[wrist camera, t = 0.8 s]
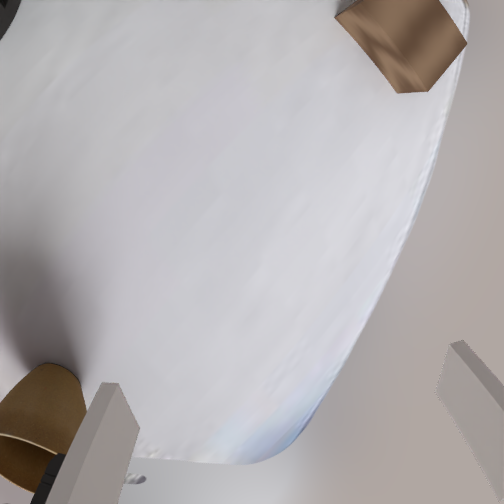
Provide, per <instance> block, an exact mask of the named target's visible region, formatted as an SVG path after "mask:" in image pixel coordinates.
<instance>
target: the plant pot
mask: <svg viewBox="0 0 504 504" xmlns="http://www.w3.org/2000/svg"><path fill="white" fill-rule="evenodd" d="M86 413H87V410H86V405H85V401H84V397H83V393H82V389H81V386H80V383H79V381H78V379H77V378H76V377H75V376H74V375H73V374H72V373H71V372H70V371H69V370H67V369H65V368H64V367H61V366H59V365H56V364H50V363H46V364H42V365H39V366H38V367H37V368H35V369H34V370H33V371H31V372H30V373H29V374H28V375H26V376H25V377H24V378H23V379H22V380H21V381H20V382H19V383H18V384H17V385H16V386H15V387H14V388H13V389H12V390H11V391H10V392H9V393H8V394H7V395H6V397H5V398H4V399H3V400H2V401H1V403H0V475H1V476H2V477H3V478H5V479H6V480H8V481H9V482H11V483H13V484H14V485H16V486H18V487H20V488H22V489H24V490H26V491H28V492H31V493H34V494H35V492H36V489H37V487H38V485H39V483H41V481H40V480H41V478H42V476H43V474H45V473H44V472H45V470H46V468H47V465H48V463H49V461H50V460H51V459H52V458H53V457H54V456H55V455H57V454H58V453H62V454H66V455H67V453H68V450H69V448H70V446H71V444H72V442H73V440H74V438H75V436H76V433H77V431H78V429H79V427H80V425H81V423H82V421H83V419H84V417H85V415H86Z"/></svg>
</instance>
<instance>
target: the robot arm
mask: <svg viewBox="0 0 504 504" xmlns="http://www.w3.org/2000/svg"><path fill="white" fill-rule="evenodd" d="M19 4H20V0H0V40H1V38H2V37H3V35H4V34H5V32H6V31H7V29H8V28H9V26H10V24H11V22H12V20H13V18H14V16H15V14H16V12H17V9H18V7H19ZM435 393H436V395H437V396H438V398H439V400H440V401H441V403H442V404H443V406H444V407H445V409H446V410H447V412H448V414H449V415H450V417H451V419H452V420H453V422H454V423H455V425H456V427H457V428H458V430H459V432H460V433H461V435H462V437H463V438H464V440H465V442H466V443H467V445H468V447H469V449H470V450H471V452H472V454H473V455H474V457H475V459H476V461H477V462H478V464H479V466H480V468H481V470H482V471H483V473H484V475H485V477H486V479H487V481H488V482H489V484H490V486H491V488H492V490H493V492H494V493H495V496H496V498H497V499H498V501H499V503H500V502H501V501H503V500H504V386H503V384H502V383H501V382H500V381H499V380H498V378H497V377H496V376H495V375H494V374H493V373H492V372H491V370H490V369H489V368H488V367H487V366H486V365H485V364H484V362H483V361H482V360H481V359H480V358H479V357H478V356H477V355H476V354H475V352H474V351H473V350H472V349H471V348H470V347H469V346H468V345H467V344H466V343H465V342H464V340H461V341H458V342H454V343H451V344H449V346H448V350H447V354H446V357H445V361H444V365H443V368H442V371H441V375H440V378H439V381H438V385H437V388H436V391H435ZM139 430H140V427H139V425H138V423H137V421H136V419H135V417H134V415H133V413H132V411H131V409H130V407H129V405H128V403H127V401H126V399H125V397H124V394H123V392H122V390H121V388H120V386H119V383H103V382H102V383H101V385H100V387H99V389H98V391H97V393H96V395H95V397H94V399H93V401H92V403H91V405H90V407H89V409H88V411H87V413H86V415H85V417H84V419H83V421H82V423H81V425H80V427H79V429H78V431H77V433H76V436H75V438H74V440H73V442H72V444H71V446H70V448H69V450H68V453H67V455H66V454H62V453H58V454H57V455H55V456H54V457H53V458H52V459H51V460H50V461H49V463H48V465H47V468H46V470H45V472H44V473H45V474H43V476H42V478H41V480H40V481H41V483H39V485H38V487H37V489H36V492H35V494H34V496H33V498H32V501H31V503H30V504H118V500H119V497H120V494H121V490H122V487H123V483H124V480H125V476H126V473H127V469H128V466H129V462H130V459H131V456H132V453H133V449H134V446H135V443H136V440H137V436H138V433H139Z"/></svg>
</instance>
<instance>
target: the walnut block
mask: <svg viewBox="0 0 504 504" xmlns="http://www.w3.org/2000/svg"><path fill="white" fill-rule="evenodd" d="M335 19H336V20H337V21H338V22H339V23H340V24H341V25H342V26H343V27H344V29H345V30H346V31H347V32H348V33H349V34H350V35H351V36H352V37H353V39H354V40H355V41H356V42H357V43H358V44H359V45H360V47H361V48H362V49H363V50H364V51H365V52H366V54H367V55H368V56H369V57H370V59H371V60H372V61H373V62H374V63H375V65H376V66H377V67H378V68H379V70H380V71H381V72H382V74H383V75H384V76H385V78H386V79H387V80H388V81H389V83H390V84H391V86H392V87H393V88H394V90H395V91H396V92H397V93H411V92H428V91H429V90H430V89H431V88H432V86H433V85H434V84H435V83H436V82H437V80H438V79H439V78H440V77H441V76H442V74H443V73H444V72H445V71H446V69H447V68H448V67H449V66H450V65H451V63H452V62H453V61H454V60H455V59H456V57H457V56H458V55H459V54H460V52H461V51H462V50H463V49H464V47H465V46H466V45H467V42H466V40H465V39H464V37H463V35H462V34H461V32H460V31H459V29H458V27H457V26H456V24H455V23H454V21H453V20H452V18H451V17H450V15H449V14H448V13H447V11H446V10H445V8H444V7H443V5H442V4H441V3H440V1H439V0H357V1H356V2H354V3H353V4H352V5H350V6H349V7H348V8H346V9H345V10H344V11H343V12H341V13H340V14H339V15H337V16H336V17H335Z"/></svg>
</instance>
